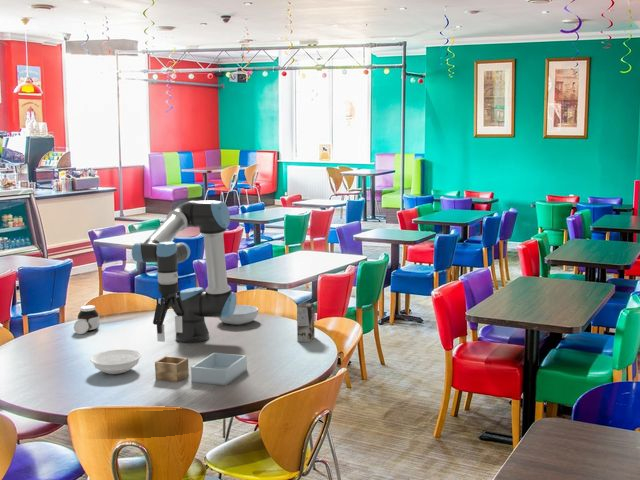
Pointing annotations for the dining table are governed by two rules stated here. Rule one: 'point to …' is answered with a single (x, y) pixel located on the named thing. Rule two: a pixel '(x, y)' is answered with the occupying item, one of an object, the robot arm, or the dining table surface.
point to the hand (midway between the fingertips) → (170, 336)
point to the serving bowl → (241, 315)
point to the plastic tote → (219, 369)
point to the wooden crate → (171, 369)
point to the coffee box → (305, 322)
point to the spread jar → (87, 320)
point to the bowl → (116, 361)
